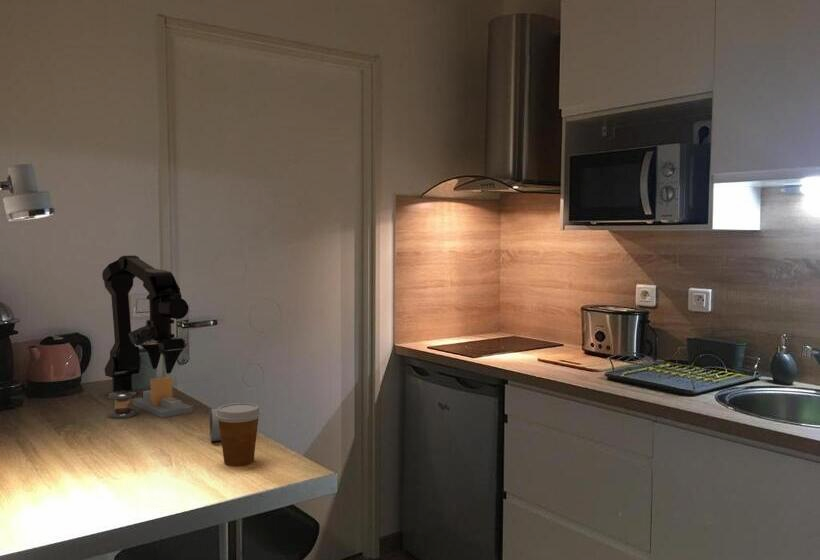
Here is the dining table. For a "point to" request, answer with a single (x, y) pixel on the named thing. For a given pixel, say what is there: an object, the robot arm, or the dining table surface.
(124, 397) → the grey and brown spool
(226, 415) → the disposable coffee cup
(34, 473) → the dining table surface
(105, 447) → the dining table surface
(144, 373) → the grey green pot
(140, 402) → the notched board
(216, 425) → the ceramic mug
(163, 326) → the robot arm
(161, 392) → the orange tab
